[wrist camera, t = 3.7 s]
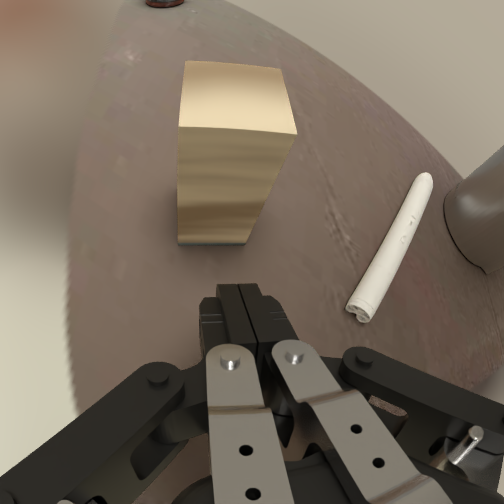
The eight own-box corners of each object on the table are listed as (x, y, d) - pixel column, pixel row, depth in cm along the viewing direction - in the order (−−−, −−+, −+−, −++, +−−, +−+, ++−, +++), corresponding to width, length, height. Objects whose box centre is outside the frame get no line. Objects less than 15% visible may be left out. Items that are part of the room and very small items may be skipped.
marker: (415, 172, 29) (427, 159, 27) (429, 185, 29) (442, 173, 27) (339, 308, 22) (355, 300, 19) (360, 325, 21) (378, 319, 19)
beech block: (244, 245, 21) (297, 134, 12) (177, 245, 20) (178, 126, 11) (240, 189, 23) (280, 69, 13) (179, 187, 22) (185, 60, 12)
